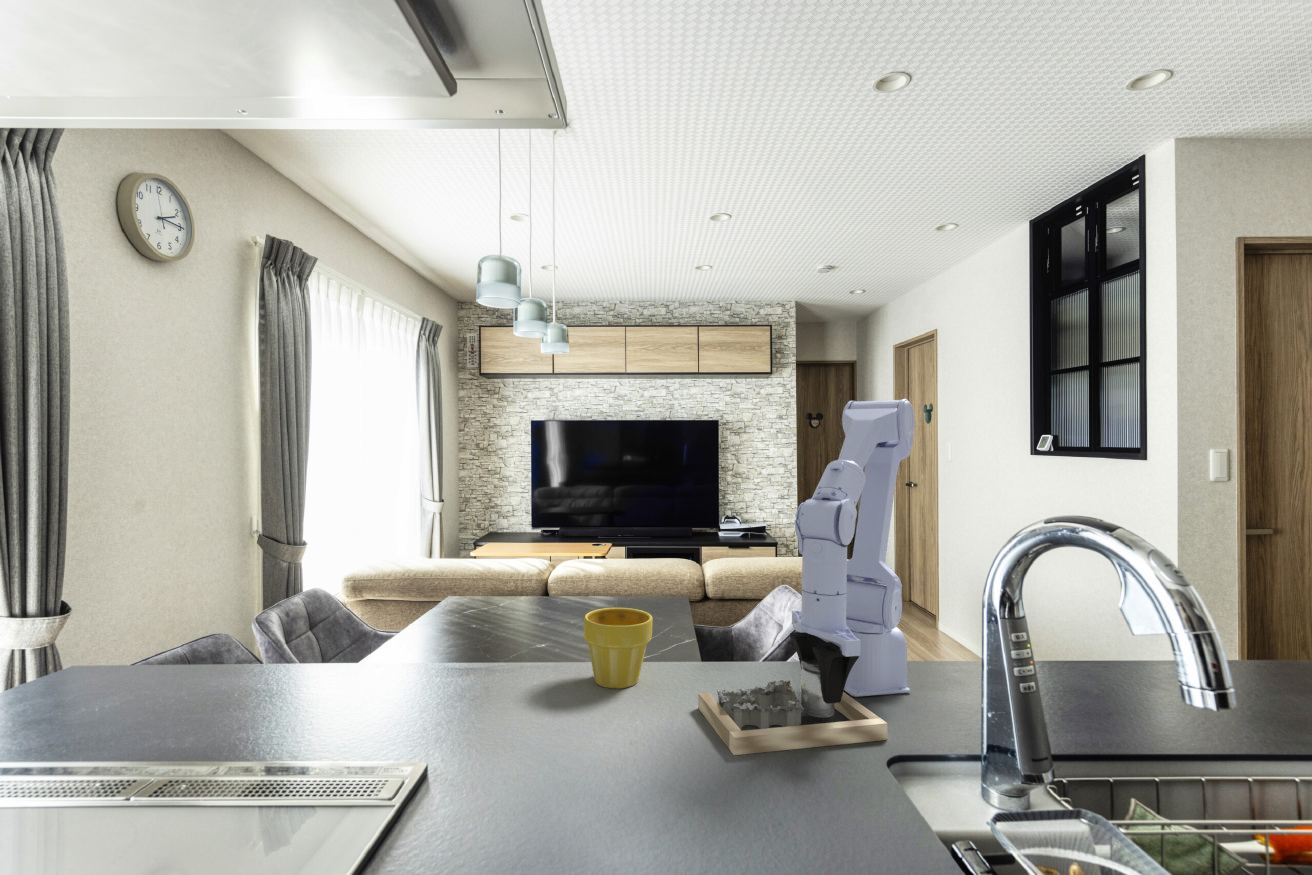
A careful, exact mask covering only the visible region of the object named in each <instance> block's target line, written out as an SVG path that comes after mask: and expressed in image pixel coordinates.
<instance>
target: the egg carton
mask: <svg viewBox="0 0 1312 875" xmlns="http://www.w3.org/2000/svg"><path fill="white" fill-rule="evenodd" d="M716 696H718V698H717V699H718V701H717V702H718V704H719V705H720V706H721V707H722V708H723V710H724V711H725V712H726V713H727V714H728V715H729V717H730V718H731V719H732V720H733V721H734V722H735V724H736V725H737V726H738V727H739V728H740V730H742V728H744V726H756V727H757V728H759V729H767V728H770V726H780V727H789V726H800V725H802V711H801V710H804V709H803V707H802V704H800V699H797V696H796V691H795V689H794V688H793V686H792V684H791V680H785V681H784V680H779V681H777V680H774V681H771V682H769V681H768V683H767V685H766V686H760V685H756V686H755V687H753V688H744V687H743V688H737V689H733V690H727V691H726V689H723V690H722V689H716Z"/></svg>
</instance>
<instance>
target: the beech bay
mask: <svg viewBox="0 0 1312 875" xmlns="http://www.w3.org/2000/svg"><path fill="white" fill-rule="evenodd" d="M697 695H698V696H697V697H698V698H697V700H698V702H697V708H698V710H699V712H701V714H702V715H703V717H704V718H705V720H706V721H707V722H708V723H709V725H710V726H711V727H712V728H713V729H714V731H715V732H716V734H717V735H718V736H719V738H720V739H721V741H722V742H723V744H725V746H726V747H727V748H728V749H729V751H730V752H731V753H732V755H733V756H740V755H741V756H742V755H749V754H760V753H770V752H778V751H779V752H780V751H787V750H799V749H808V748H820V747H827V746H829V747H830V746H838V745H839V746H840V745H849V744H858V743H866V742H867V743H868V742H869V743H870V742H876V741H877V742H878V741H887V740H888V727H889V726H888V724H889V723H888V722H886V721H885V720H884V719H882V718H881V717H879V716H878V715H877V714H875V713H874V712H873V711H871V710H869V708H866V706H864V705H862V703H860V702H859V701H857V700H856V699H854V698H853V697H851V695H850V694H849V695H848V694H847V692H844V691H843V695H842V699H841V702H840V703H835V708H834V710H836V711H838V712H839V713H840V714H841V715H843V717H845V718H847V719H848V720H845V721H835V722H825V723H823V722H822V723H813V724H803V725H802V724H800V725H796V726H789V727H784V726H779V727H769V728H767V729H760V728H759V729H746V730H745V729H744V730H742V729H740V728H739V727H738V726H737V725H736V724H735V722H734V721H733V720H732V719H731V718H730V717H729V715H728V714H727V713H726V712H725V711H724V710H723V708H722V707H721V706H720V705H719V704H718V702H719V701H718V700H716V699H715V698H714V696H713V695H712V694H711V693H710V692H698V693H697Z"/></svg>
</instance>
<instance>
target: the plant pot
mask: <svg viewBox="0 0 1312 875" xmlns="http://www.w3.org/2000/svg"><path fill="white" fill-rule="evenodd" d="M653 619H654V618H653V616H652V615H651V614H650V613H649V612H647V611H644V610H641V609H636V608H629V607H606V608H599V609H593V610H591V611H589V612H588V613H586V614H585V615H584V619H583V639H584V640H585V642H586V643H588V649H589V655H590V661H591V666H592V673H593V679H594V682H595V683H596V684H597V685H599V686H601V687H603V688H607V689H626V688H630V687H633V686H635V685H636V684H637V683H638V681H639V678H640V676H641V671H642V666H643V662H644V659H645V654H646V650H647V645H648V643H650V641H651V640H652V636H653Z"/></svg>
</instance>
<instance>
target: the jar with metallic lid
mask: <svg viewBox="0 0 1312 875" xmlns="http://www.w3.org/2000/svg"><path fill="white" fill-rule="evenodd" d="M801 667H802V670H801V674H800V675H801V677H800V695H799V696H800V697H799V702H800V704H802V707H803V709H804V710H801V713H804V714H805V715H808V716H811V717H814V718H815V717H816V718H830V717H833V716H834V715H835V703H829V704H827V703H825V702H824V700H823V696H822V688H821V676H820V670H819V666H818V662H817V659H816V658H805V659H803V660H802V661H801V665H800V668H801Z"/></svg>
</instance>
